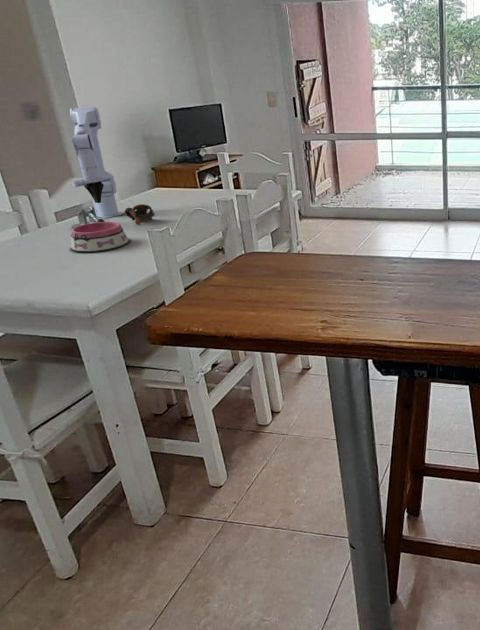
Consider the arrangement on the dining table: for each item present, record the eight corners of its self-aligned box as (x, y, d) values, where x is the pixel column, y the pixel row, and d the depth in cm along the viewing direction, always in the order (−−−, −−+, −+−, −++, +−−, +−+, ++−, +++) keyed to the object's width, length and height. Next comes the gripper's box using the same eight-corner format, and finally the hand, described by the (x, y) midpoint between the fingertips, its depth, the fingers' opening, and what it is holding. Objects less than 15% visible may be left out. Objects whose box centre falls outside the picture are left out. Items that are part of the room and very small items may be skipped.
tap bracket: (107, 226, 231) (102, 206, 228) (85, 231, 224) (80, 211, 221) (94, 223, 236) (89, 204, 233) (72, 228, 229) (66, 208, 226)
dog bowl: (140, 239, 211) (136, 221, 208) (102, 254, 195) (97, 235, 192) (99, 236, 216) (94, 219, 213) (59, 251, 199) (53, 232, 197)
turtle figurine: (159, 219, 240) (157, 204, 234) (151, 234, 234) (148, 219, 228) (130, 213, 239) (127, 198, 233) (121, 228, 233) (117, 213, 227)
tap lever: (107, 226, 225) (106, 220, 224) (99, 228, 223) (99, 221, 221) (88, 213, 230) (87, 206, 228) (80, 215, 228) (79, 208, 226)
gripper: (75, 170, 210) (85, 207, 216) (113, 165, 221) (121, 199, 227) (65, 169, 214) (75, 205, 220) (103, 163, 225) (111, 198, 231)
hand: (98, 202), depth 223 cm, fingers closed
